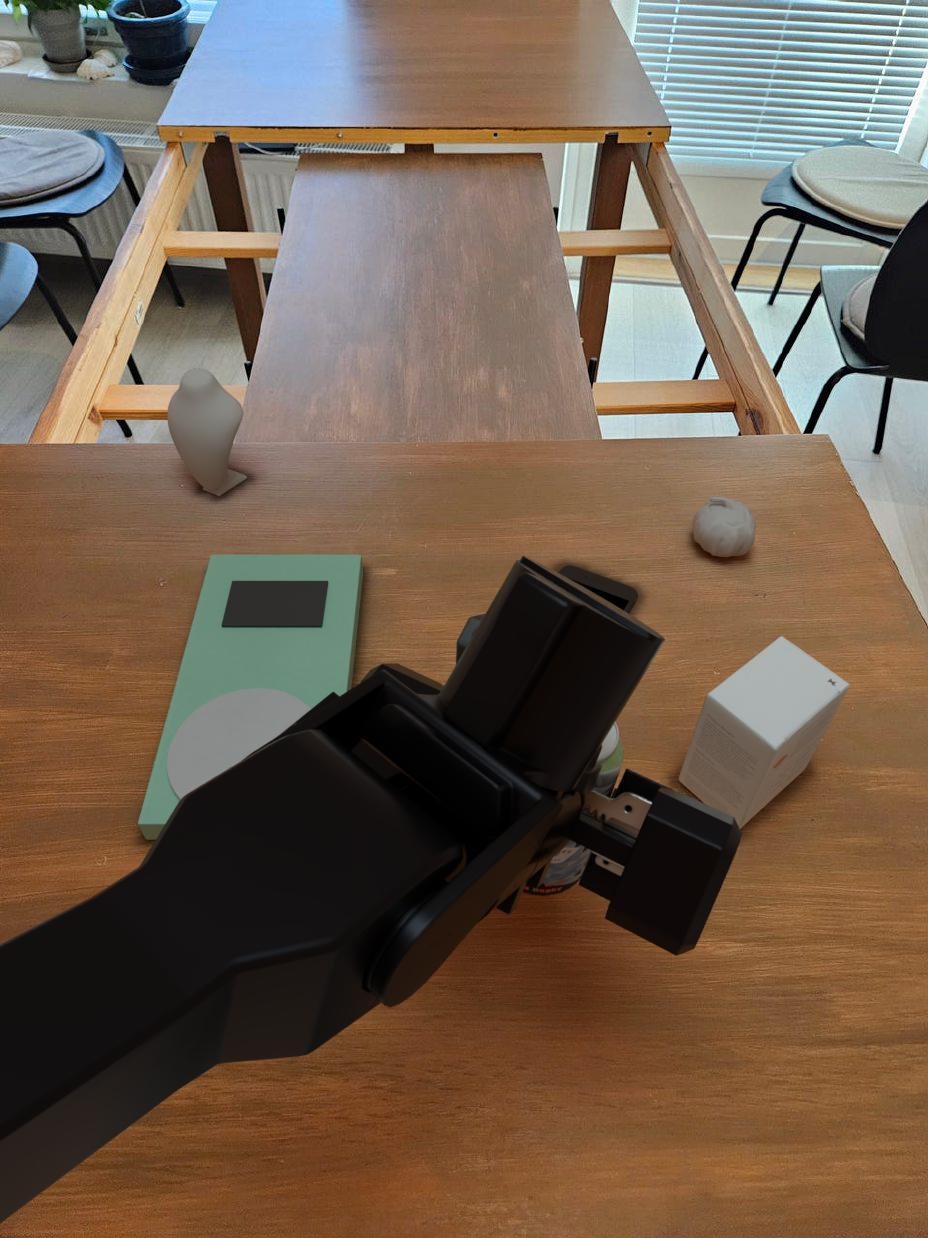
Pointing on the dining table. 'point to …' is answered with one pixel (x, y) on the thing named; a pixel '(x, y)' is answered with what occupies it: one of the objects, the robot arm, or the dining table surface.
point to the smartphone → (603, 587)
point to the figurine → (205, 429)
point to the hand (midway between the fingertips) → (566, 774)
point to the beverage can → (574, 855)
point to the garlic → (724, 527)
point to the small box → (760, 729)
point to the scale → (253, 665)
